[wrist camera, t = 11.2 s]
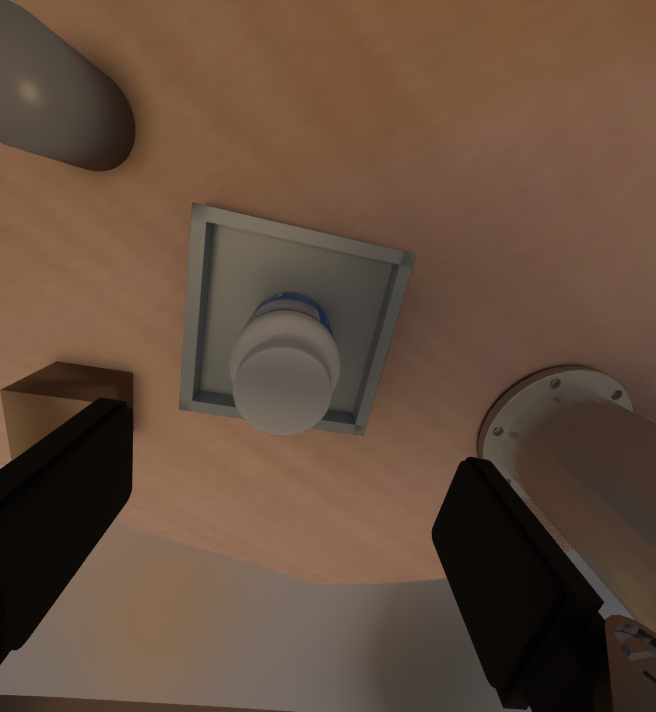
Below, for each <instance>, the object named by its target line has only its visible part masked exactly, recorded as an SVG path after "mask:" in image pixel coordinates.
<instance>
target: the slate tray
mask: <svg viewBox="0 0 656 712" xmlns="http://www.w3.org/2000/svg"><path fill="white" fill-rule="evenodd" d="M415 257H416V254H413V253H409V252H404V251H400V250H396V249H391V248H387V247H383V246H378V245H374V244H370V243H365V242H361V241H357V240H352V239H348V238H344V237H339V236H335V235H331V234H326V233H322V232H318V231H313V230H309V229H305V228H300V227H296V226H292V225H287V224H283V223H279V222H274V221H270V220H266V219H261V218H257V217H253V216H248V215H244V214H240V213H235V212H231V211H227V210H222V209H218V208H214V207H209V206H205V205H201V204H196V203H192V214H191V230H190V246H189V262H188V277H187V293H186V309H185V325H184V340H183V356H182V372H181V388H180V404H179V409H180V410H187V411H194V412H201V413H208V414H215V415H222V416H229V417H235V418H242V419H243V417H242V416H241V414H240V413H239V411H238V410H237V408H236V405H235V402H234V398H233V382H232V380H231V376H230V369H229V360H230V354H231V350H232V347H233V345H234V343H235V341H236V339H237V337H238V335H239V334H240V332H241V331H242V329H243V328H244V326H245V325H246V323H247V322H248V320H249V319H250V317H251V316H252V314H253V312H254V311H255V310H256V308H257V307H258V306H259V305H260V304H261V303H262V302H263V301H264V300H266V299H267V298H269V297H271V296H273V295H276V294H279V293H285V292H292V293H298V294H302V295H304V296H307V297H309V298H310V299H312V300H313V301H315V302H316V303H317V304H318V305H319V306H320V307H321V308H322V310H323V311H324V313H325V314H326V316H327V318H328V321H329V324H330V327H331V330H332V333H333V336H334V339H335V342H336V345H337V348H338V351H339V355H340V362H341V370H340V377H339V380H338V383H337V386H336V388H335V390H334V391H333V393H332V399H331V403H330V405H329V408H328V410H327V412H326V413H325V415H324V417H323V418H322V419H321V420H320V421H319V422H318V423H317V424H316V425H314V426H313V427H312V429H319V430H326V431H333V432H340V433H347V434H354V435H361V436H363V434H364V431H365V428H366V424H367V421H368V417H369V414H370V411H371V407H372V404H373V400H374V397H375V394H376V390H377V387H378V383H379V380H380V377H381V373H382V370H383V366H384V363H385V359H386V356H387V353H388V349H389V346H390V342H391V339H392V336H393V332H394V329H395V325H396V322H397V319H398V315H399V312H400V308H401V305H402V302H403V298H404V295H405V291H406V288H407V284H408V281H409V278H410V274H411V271H412V267H413V264H414V261H415Z"/></svg>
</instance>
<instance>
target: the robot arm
mask: <svg viewBox="0 0 656 712" xmlns="http://www.w3.org/2000/svg"><path fill="white" fill-rule="evenodd" d="M478 455H479V458H475V457H468V458H467V459H466V460H465V461H462V462H460V464H459V466H458V468H457V471H456V473H455V475H454V478H453V480H452V483H451V485H450V487H449V490H448V492H447V494H446V497H445V499H444V502H443V504H442V506H441V509H440V511H439V513H438V516H437V518H436V521H435V523H434V525H433V528H432V540H433V543H434V546H435V548H436V551H437V554H438V556H439V559H440V561H441V564H442V566H443V569H444V571H445V574H446V576H447V579H448V581H449V584H450V587H451V589H452V591H453V594H454V597H455V599H456V602H457V604H458V607H459V610H460V612H461V615H462V617H463V620H464V622H465V625H466V627H467V630H468V632H469V635H470V637H471V640H472V643H473V645H474V647H475V650H476V653H477V655H478V658H479V660H480V663H481V665H482V668H483V670H484V673H485V675H486V678H487V680H488V682H489V683H490V685H491V686H492V687H494V688H496V691H497V693H498V696H499V698H500V701H501V703H502V706H503V708H509V709H523V710H527V708H528V707H529V706H530V708H531V710H532V712H656V424H654V423H652V422H650V421H648V420H646V419H645V418H643V417H641V416H639V415H637V414H635V413H634V410H633V406H632V401H631V398H630V396H629V394H628V392H627V390H626V389H625V388H624V387H623V386H622V385H621V384H620V383H619V382H618V381H617V380H615V379H614V378H612V377H610V376H609V375H607V374H604V373H602V372H600V371H597V370H595V369H592V368H587V367H582V366H563V367H557V368H552V369H548V370H545V371H543V372H540V373H537V374H534V375H533V376H531V377H529V378H527V379H525V380H523V381H521V382H520V383H518V384H517V385H516V386H514V387H513V388H512V389H510V390H509V391H508V392H507V393H506V394H505V395H504V396H503V397H502V398H501V399H500V400H499V401H498V402H497V403H496V404H495V406H494V407H493V408H492V410H491V411H490V413H489V414H488V416H487V418H486V420H485V422H484V424H483V426H482V428H481V432H480V436H479V439H478ZM132 466H133V410H132V408H130V407H127V403H126V402H125V401H121V400H115V399H109V398H98V399H96V400H95V401H94V402H92V403H91V404H90V405H88V406H87V407H85V408H84V409H83V410H81V411H80V412H79V413H77V414H76V415H74V416H73V417H72V418H70V419H69V420H67V421H66V422H65V423H63V424H62V425H61V426H59V427H58V428H56V429H55V430H54V431H52V432H51V433H50V434H48V435H47V436H45V437H44V438H43V439H41V440H40V441H38V442H37V443H36V444H34V445H33V446H32V447H30V448H29V449H27V450H26V451H25V452H23V453H22V454H21V455H19V456H18V457H16V458H15V459H14V460H12V461H11V462H9V463H8V464H7V465H5V466H4V467H3V468H1V469H0V665H1V663H2V662H3V661H4V659H5V658H6V656H7V655H8V654H9V652H10V651H11V650H18V649H19V648H21V647H22V646H23V645H24V643H25V642H26V641H27V640H28V638H29V637H30V636H31V634H32V633H33V632H34V630H35V629H36V628H37V626H38V625H39V623H40V622H41V621H42V619H43V618H44V616H45V615H46V614H47V612H48V611H49V609H50V608H51V607H52V605H53V604H54V603H55V601H56V600H57V598H58V597H59V596H60V594H61V593H62V591H63V590H64V589H65V587H66V586H67V585H68V583H69V582H70V580H71V579H72V578H73V576H74V575H75V573H76V572H77V571H78V569H79V568H80V566H81V565H82V564H83V562H84V561H85V559H86V558H87V556H88V555H89V554H90V553H91V551H92V550H93V548H94V547H95V546H96V544H97V543H98V541H99V540H100V539H101V537H102V536H103V534H104V533H105V532H106V530H107V529H108V528H109V526H110V525H111V523H112V522H113V521H114V519H115V518H116V517H117V515H118V514H119V512H120V511H121V510H122V508H123V507H124V505H125V504H126V503H127V501H128V499H129V497H130V494H131V491H132ZM521 498H522V499H530V500H532V501H533V502H534V503H535V504H536V505H537V507H538V508H539V509H540V510H541V511H542V512H543V514H544V515H545V516H546V517H547V518H548V519H549V521H550V522H551V523H552V524H553V525H554V526H555V527H556V529H557V530H558V531H559V532H560V533H561V534H562V536H563V537H564V538H565V539H566V540H567V541H568V543H569V544H570V545H571V546H572V547H573V548H574V549H575V551H576V552H577V553H578V554H579V555H580V556H581V558H582V559H583V560H584V561H585V562H586V563H587V564H588V566H589V567H590V568H591V569H592V570H593V571H594V573H595V574H596V575H597V576H598V577H599V578H600V580H601V581H602V582H603V583H604V584H605V585H606V587H607V588H608V589H609V590H610V591H611V592H612V593H613V595H614V596H615V597H616V598H617V599H618V600H619V602H620V603H621V604H622V605H623V606H624V607H625V609H626V610H627V611H628V612H629V613H630V614H631V616H632V617H633V618H634V619H635V620H636V621H635V620H633V619H631V618H628V617H625V616H622V615H611V616H609V617H608V618H607V619H606V620H604V619H603V618H602V616H601V615H600V614H599V612H598V611H599V609H600V608H601V606H602V605H603V604H604V601H603V600H602V599H601V598H600V596H599V595H598V594H597V593H596V592H595V590H594V589H593V588H592V586H591V585H590V584H589V583H588V581H587V580H586V579H585V578H584V576H583V575H582V574H581V573H580V572H579V570H578V569H577V568H576V567H575V565H574V564H573V563H572V562H571V560H570V559H569V558H568V557H567V555H566V554H565V553H564V552H563V550H562V549H561V548H560V547H559V545H558V544H557V543H556V542H555V540H554V539H553V538H552V537H551V535H550V534H549V533H548V532H547V530H546V529H545V528H544V527H543V525H542V524H541V523H540V522H539V520H538V519H537V518H536V517H535V515H534V514H533V513H532V512H531V510H530V509H529V508H528V507H527V505H526V504H525V503H524V502H523V500H522V499H521ZM0 712H292V711H277V710H261V709H246V708H231V707H230V708H229V707H214V706H198V705H197V706H196V705H181V704H165V703H148V702H130V701H114V700H96V699H79V698H63V697H42V696H15V695H0Z"/></svg>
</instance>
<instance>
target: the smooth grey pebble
mask: <svg viewBox="0 0 656 712" xmlns="http://www.w3.org/2000/svg"><path fill="white" fill-rule="evenodd" d="M134 140H135V122H134V117H133V113H132V110H131V107H130V105H129V103H128V101H127V99H126V97H125V95H124V94H123V92H122V91H121V89H120V88H119V87H118V86H117V84H116V83H115V82H114V81H113V80H112V79H111V78H110V77H108V76H107V75H106V74H105V73H103V72H102V71H101V70H100V69H98V68H97V67H96V66H95V65H94V64H92V63H91V62H90V61H89V60H87V59H86V58H85V57H84V56H82V55H81V54H80V53H79V52H78V51H76V50H75V49H74V48H73V47H71V46H70V45H69V44H68V43H66V42H65V41H64V40H63V39H62V38H60V37H59V36H58V35H57V34H55V33H54V32H53V31H52V30H50V29H49V28H48V27H47V26H46V25H44V24H43V23H42V22H41V21H39V20H38V19H37V18H36V17H34V16H33V15H32V14H31V13H29V12H28V11H27V10H25V9H24V8H22V7H20V6H19V5H17V4H15V3H13V2H11V1H9V0H0V142H1V143H3V144H5V145H8V146H11V147H14V148H18V149H21V150H24V151H27V152H31V153H34V154H37V155H41V156H44V157H47V158H51V159H54V160H57V161H60V162H64V163H67V164H70V165H74V166H77V167H80V168H84V169H87V170H91V171H107V170H111V169H113V168H115V167H118V166H119V165H120V164H122V163H123V162H124V161H125V160H126V159H127V157H128V156H129V154H130V152H131V150H132V148H133V145H134Z"/></svg>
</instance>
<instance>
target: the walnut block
mask: <svg viewBox="0 0 656 712" xmlns="http://www.w3.org/2000/svg"><path fill="white" fill-rule="evenodd" d="M0 391H1V398H2V404H3V410H4V416H5V422H6V429H7V435H8V441H9V447H10V454H11V460H14V459H15V458H16V457H18V456H19V455H21V454H22V453H23V452H25V451H26V450H27V449H29V448H30V447H32V446H33V445H34V444H36V443H37V442H38V441H40V440H41V439H43V438H44V437H45V436H47V435H48V434H50V433H51V432H52V431H54V430H55V429H56V428H58V427H59V426H61V425H62V424H63V423H65V422H66V421H67V420H69V419H70V418H72V417H73V416H74V415H76V414H77V413H79V412H80V411H81V410H83V409H84V408H85V407H87V406H88V405H90V404H91V403H92V402H94V401H95V400H96V399H98V398H109V399H115V400H121V401H125V402H126V403H127V407H130V408H132V410H133V373H132V372H125V371H118V370H111V369H104V368H97V367H91V366H84V365H77V364H70V363H63V362H55V363H53V364H51V365H49V366H47V367H45V368H43V369H41V370H39V371H37V372H35V373H33V374H31V375H29V376H27V377H25V378H23V379H21V380H19V381H17V382H15V383H13V384H11V385H9V386H7V387H5V388H3V389H1V390H0Z"/></svg>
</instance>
